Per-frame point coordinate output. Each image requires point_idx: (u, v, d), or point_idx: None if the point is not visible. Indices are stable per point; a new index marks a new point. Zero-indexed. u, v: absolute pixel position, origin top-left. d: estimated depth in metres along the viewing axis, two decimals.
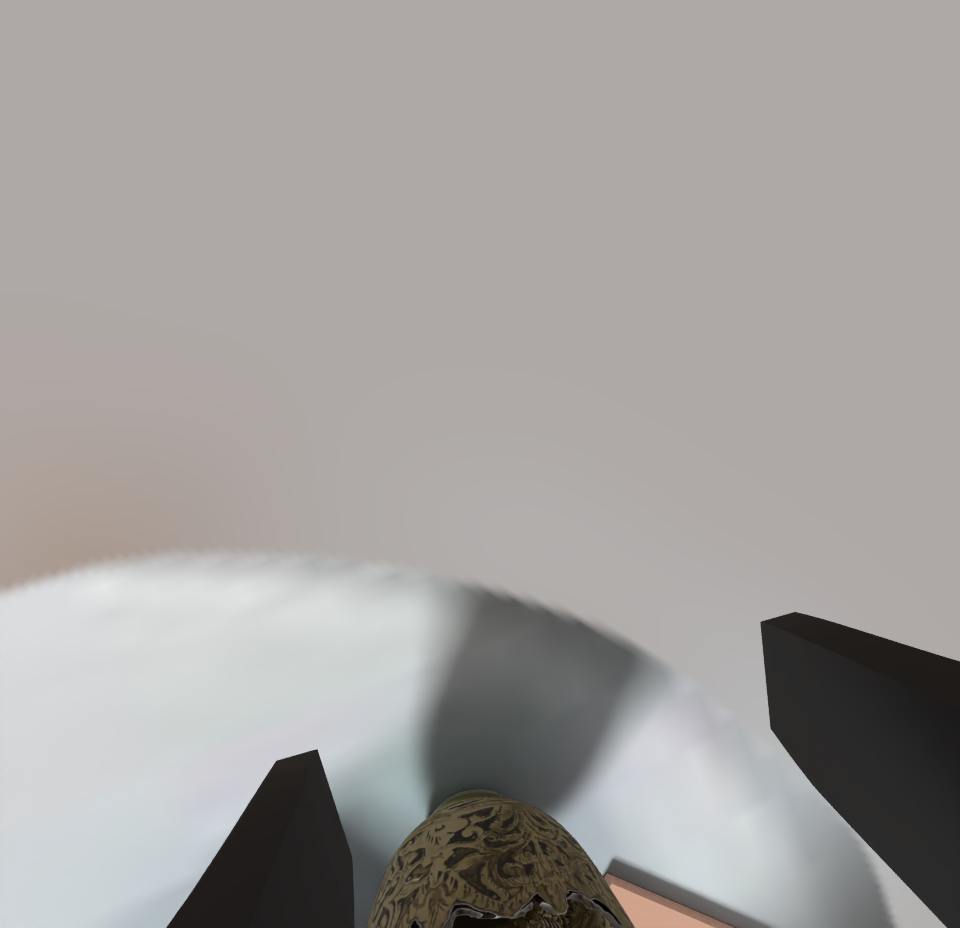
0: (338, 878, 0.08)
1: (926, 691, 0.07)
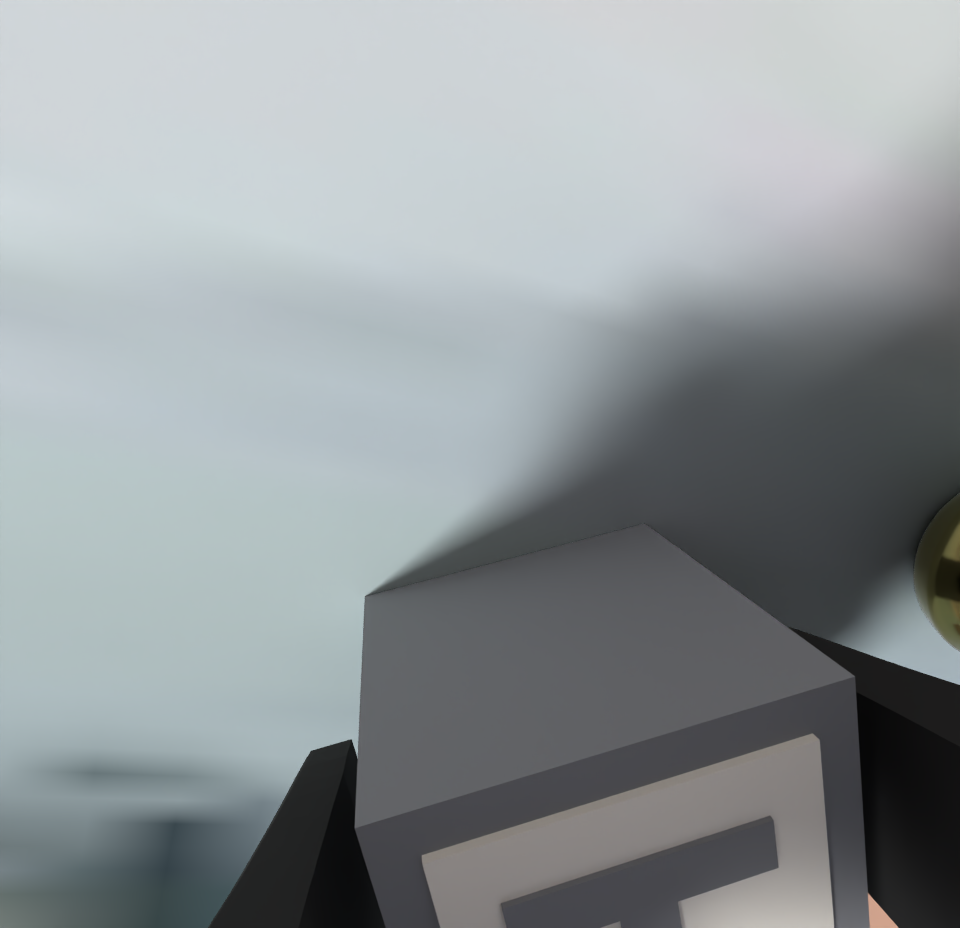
0: None
1: (886, 703, 0.07)
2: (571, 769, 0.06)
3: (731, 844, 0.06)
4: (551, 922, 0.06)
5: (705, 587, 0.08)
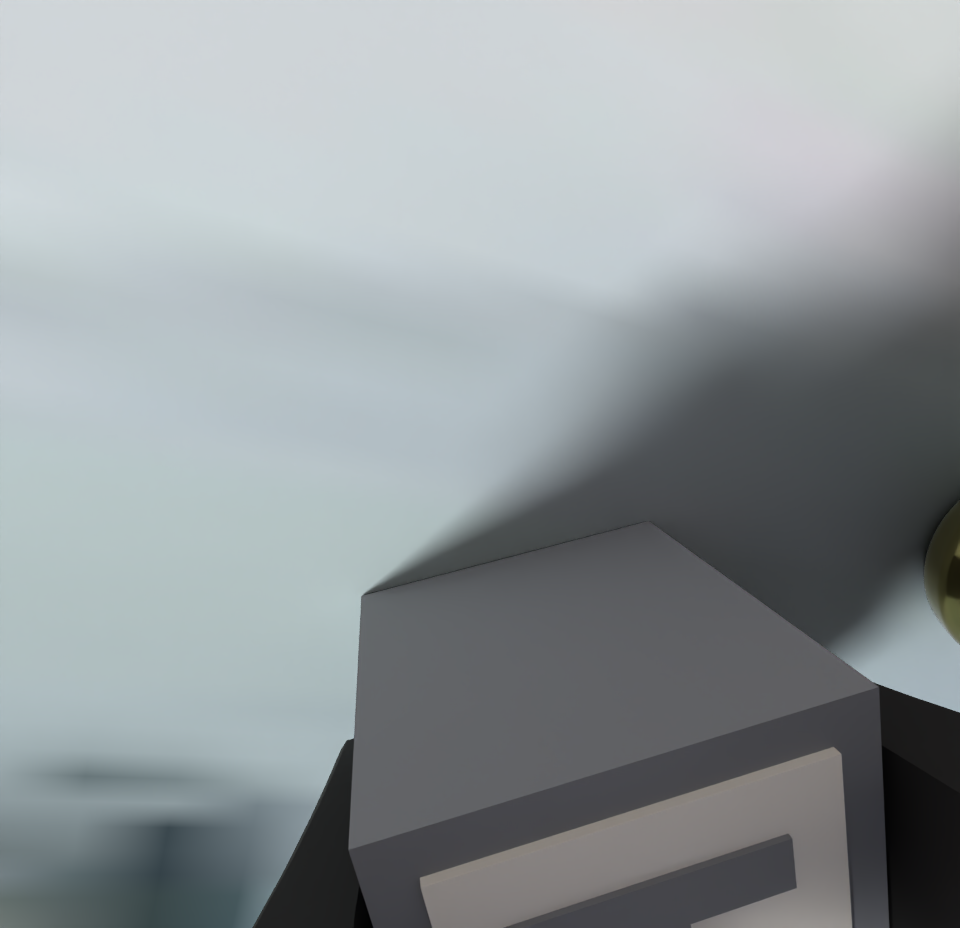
0: None
1: None
2: (578, 786, 0.05)
3: (749, 863, 0.06)
4: None
5: (716, 590, 0.08)
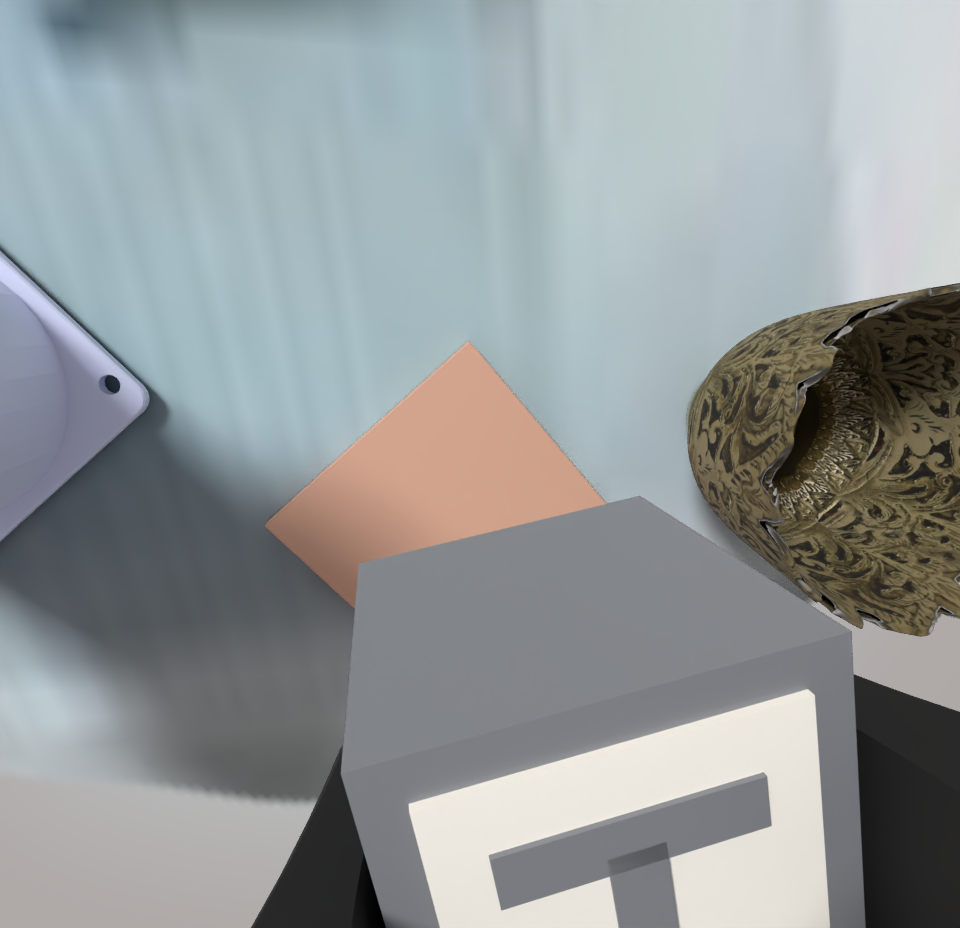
0: None
1: None
2: (562, 718, 0.06)
3: (724, 800, 0.06)
4: (541, 874, 0.06)
5: (701, 553, 0.08)
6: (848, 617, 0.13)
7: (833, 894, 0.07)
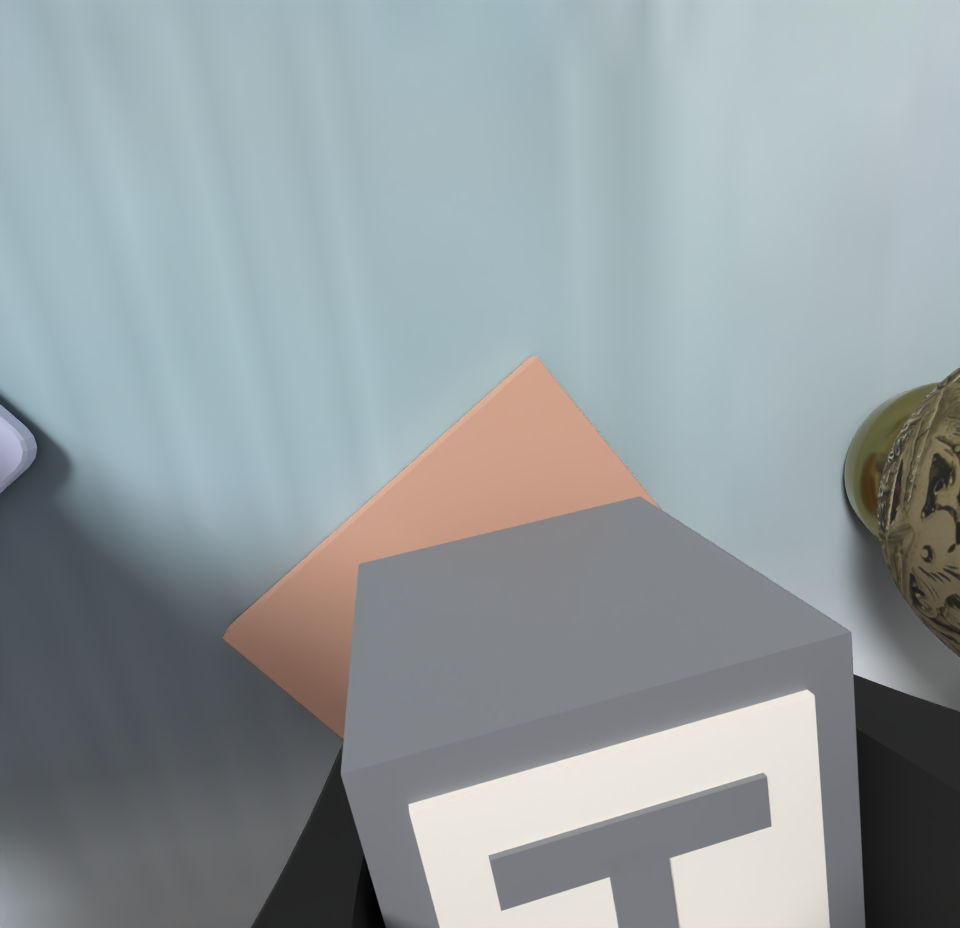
0: None
1: None
2: (562, 718, 0.06)
3: (724, 800, 0.06)
4: (540, 876, 0.06)
5: (701, 553, 0.08)
6: None
7: (833, 893, 0.07)
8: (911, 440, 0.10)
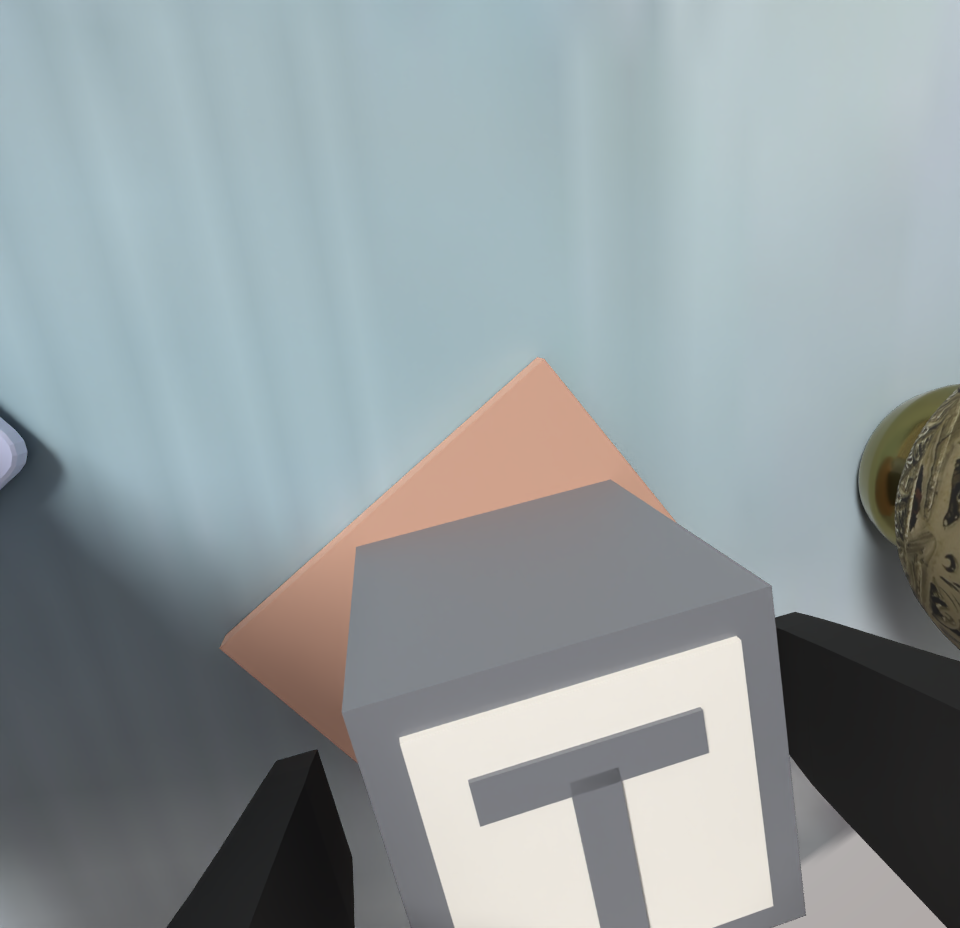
0: (338, 878, 0.08)
1: (926, 691, 0.07)
2: (526, 664, 0.07)
3: (666, 730, 0.07)
4: (513, 796, 0.07)
5: (657, 527, 0.09)
6: None
7: (767, 813, 0.08)
8: (931, 445, 0.10)
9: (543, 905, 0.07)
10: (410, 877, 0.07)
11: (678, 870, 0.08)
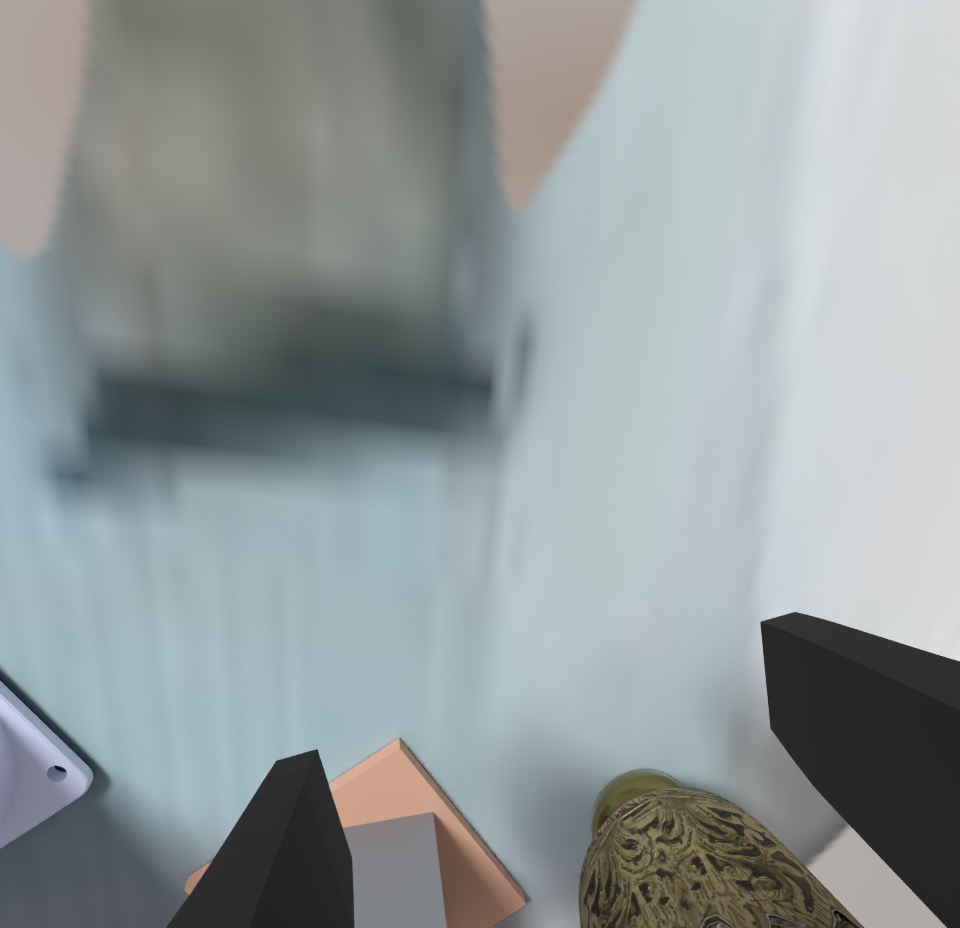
0: (338, 878, 0.08)
1: (926, 691, 0.07)
2: None
3: None
4: None
5: (431, 885, 0.17)
6: None
7: None
8: (594, 846, 0.18)
9: None
10: None
11: None
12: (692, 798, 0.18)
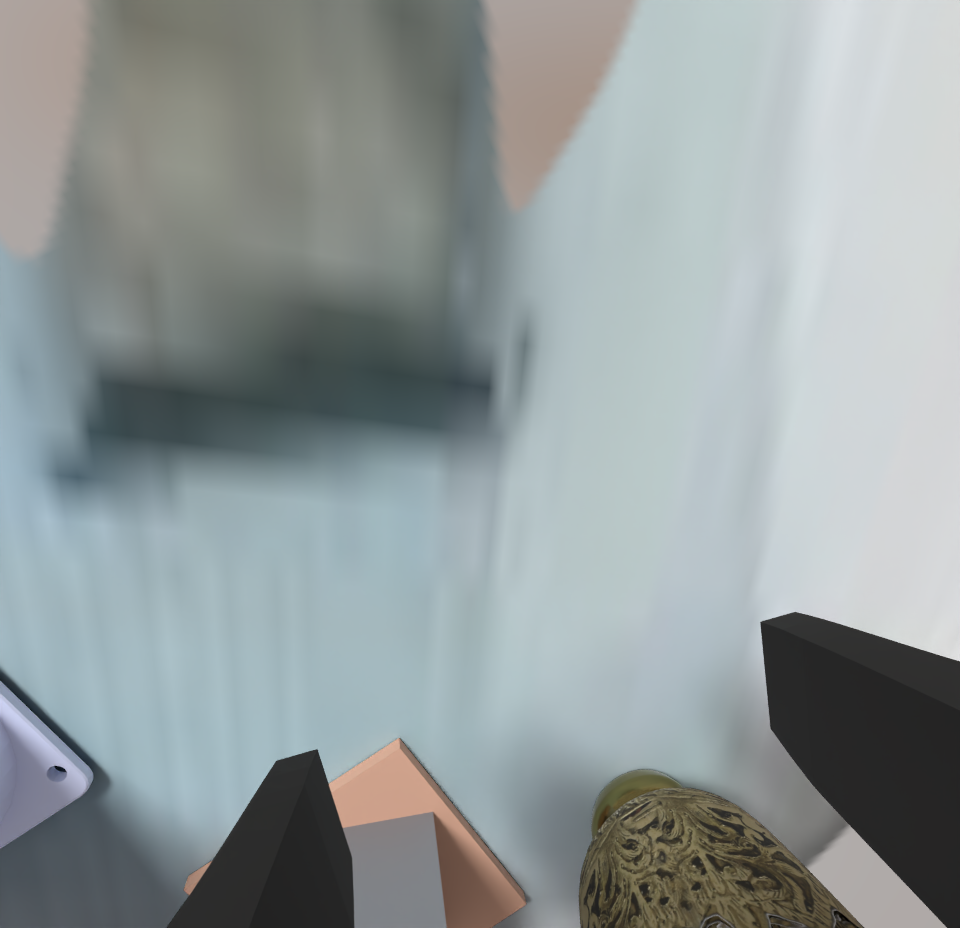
0: (338, 878, 0.08)
1: (926, 691, 0.07)
2: None
3: None
4: None
5: (431, 885, 0.17)
6: None
7: None
8: (594, 846, 0.18)
9: None
10: None
11: None
12: (692, 798, 0.18)
